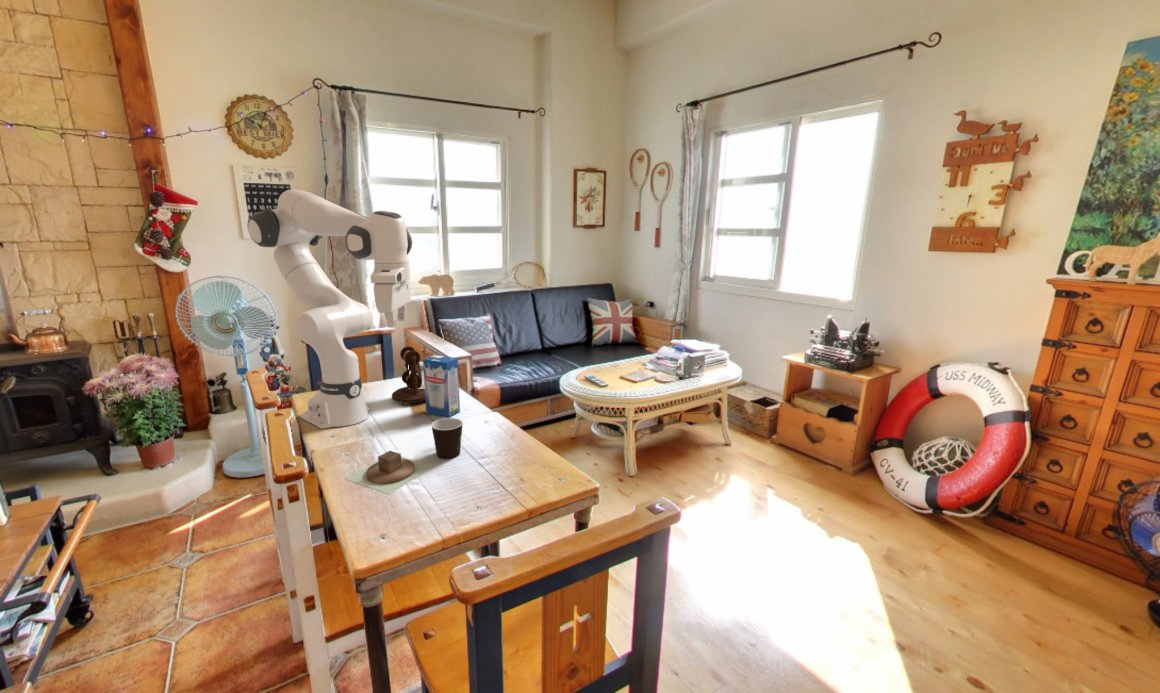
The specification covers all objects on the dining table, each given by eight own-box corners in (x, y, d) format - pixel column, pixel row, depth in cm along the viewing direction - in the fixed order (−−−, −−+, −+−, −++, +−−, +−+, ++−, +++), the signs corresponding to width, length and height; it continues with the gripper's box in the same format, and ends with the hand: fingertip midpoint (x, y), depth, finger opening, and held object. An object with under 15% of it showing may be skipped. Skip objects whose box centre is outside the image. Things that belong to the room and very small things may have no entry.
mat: (344, 480, 126) (344, 478, 126) (392, 455, 140) (391, 453, 140) (389, 496, 119) (389, 494, 119) (434, 468, 133) (434, 466, 133)
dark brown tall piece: (438, 401, 182) (435, 350, 177) (397, 409, 174) (393, 355, 169) (427, 390, 194) (424, 342, 189) (388, 396, 186) (384, 346, 181)
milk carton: (425, 413, 170) (422, 359, 166) (437, 407, 176) (434, 354, 171) (449, 418, 167) (446, 362, 162) (460, 412, 172) (457, 358, 167)
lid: (356, 477, 126) (354, 459, 125) (391, 457, 137) (390, 441, 136) (390, 488, 121) (388, 470, 120) (424, 467, 132) (423, 450, 131)
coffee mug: (455, 464, 135) (454, 431, 133) (427, 460, 137) (425, 428, 135) (472, 446, 146) (471, 415, 144) (446, 443, 148) (445, 412, 146)
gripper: (392, 270, 140) (396, 316, 144) (367, 277, 121) (373, 331, 124) (414, 270, 141) (417, 316, 144) (393, 277, 121) (398, 331, 125)
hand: (396, 323), depth 134 cm, fingers open, 8 cm apart
